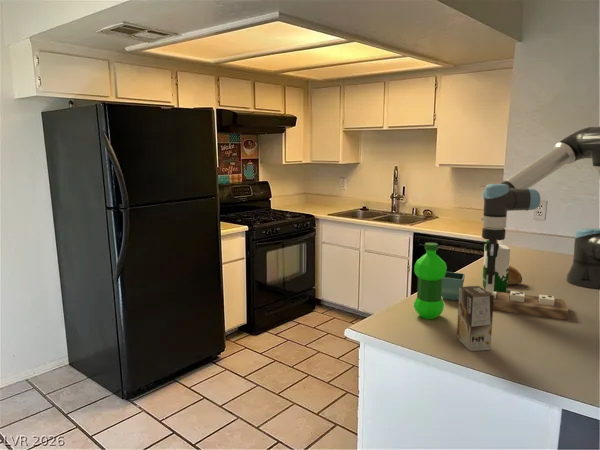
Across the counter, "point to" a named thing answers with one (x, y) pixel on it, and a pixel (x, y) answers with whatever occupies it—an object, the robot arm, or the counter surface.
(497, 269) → the milk carton
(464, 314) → the coffee box
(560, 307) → the button panel
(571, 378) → the counter surface
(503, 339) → the counter surface
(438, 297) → the plastic bottle
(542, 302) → the button two
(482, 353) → the counter surface
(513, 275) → the bread roll
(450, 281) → the flower pot
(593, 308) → the counter surface
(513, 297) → the button three
